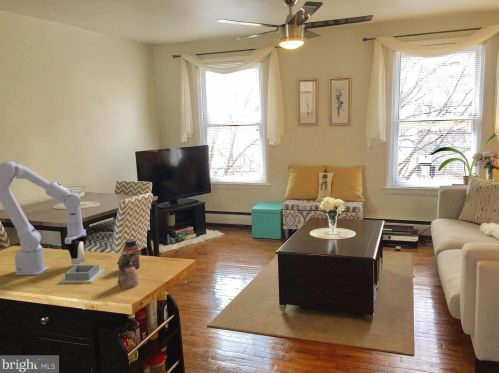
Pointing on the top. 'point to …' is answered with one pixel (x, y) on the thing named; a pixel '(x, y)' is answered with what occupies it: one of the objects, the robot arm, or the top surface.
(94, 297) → the top surface
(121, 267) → the figurine
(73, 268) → the cup holder
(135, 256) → the supplement bottle
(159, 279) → the top surface
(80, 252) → the cream white egg
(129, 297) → the top surface
